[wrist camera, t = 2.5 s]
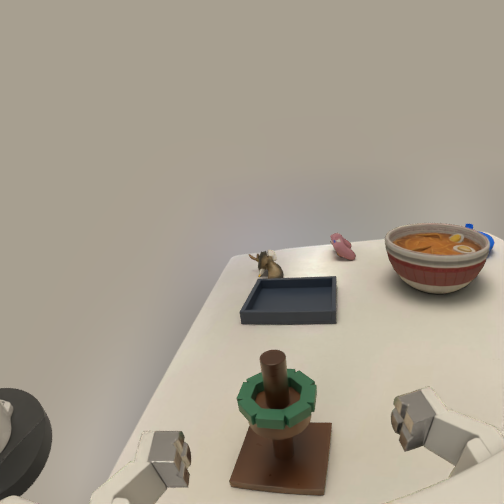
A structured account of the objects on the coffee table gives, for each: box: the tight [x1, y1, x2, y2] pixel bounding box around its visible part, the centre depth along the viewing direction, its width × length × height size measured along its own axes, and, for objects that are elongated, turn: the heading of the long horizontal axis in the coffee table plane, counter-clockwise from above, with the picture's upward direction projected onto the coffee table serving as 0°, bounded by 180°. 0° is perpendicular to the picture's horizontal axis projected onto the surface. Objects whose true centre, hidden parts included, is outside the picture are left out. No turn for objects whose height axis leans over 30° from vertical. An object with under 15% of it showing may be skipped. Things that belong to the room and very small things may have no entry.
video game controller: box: [331, 233, 356, 260], centre depth 82 cm, size 10×5×7 cm, turn 171°
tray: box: [240, 276, 337, 324], centre depth 61 cm, size 17×15×2 cm
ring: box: [237, 369, 317, 429], centre depth 25 cm, size 6×6×1 cm
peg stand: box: [229, 350, 332, 495], centre depth 26 cm, size 9×9×14 cm
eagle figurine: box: [249, 250, 283, 279], centre depth 76 cm, size 8×7×9 cm
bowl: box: [385, 223, 490, 294], centre depth 58 cm, size 23×23×10 cm
